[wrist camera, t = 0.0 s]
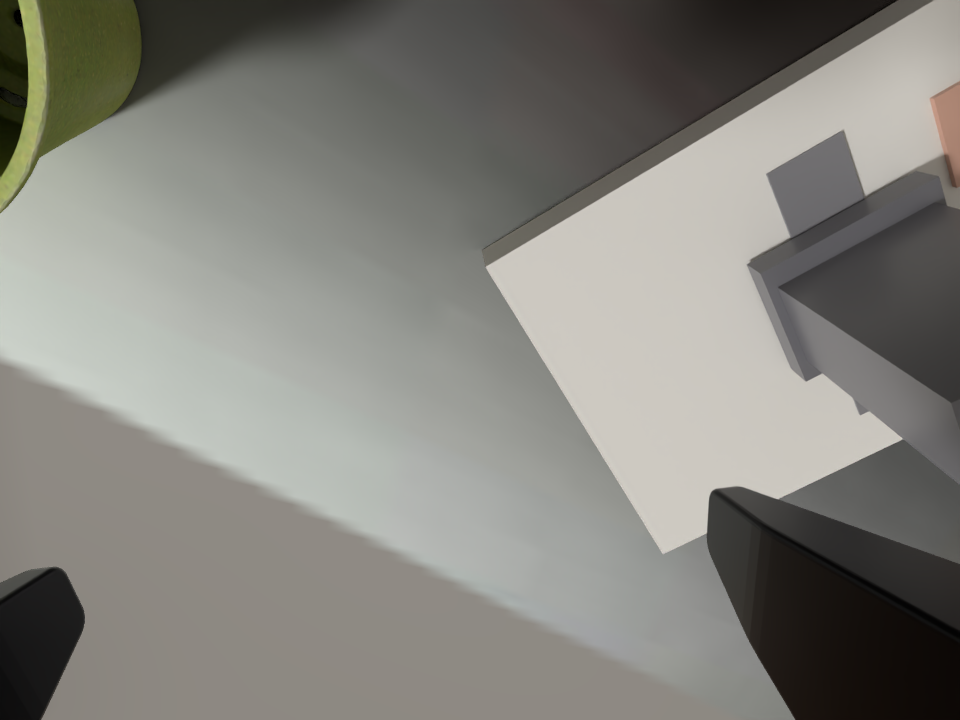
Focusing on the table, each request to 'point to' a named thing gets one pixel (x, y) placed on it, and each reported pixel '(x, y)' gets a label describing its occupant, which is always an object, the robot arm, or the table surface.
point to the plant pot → (61, 76)
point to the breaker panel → (730, 269)
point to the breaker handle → (878, 310)
